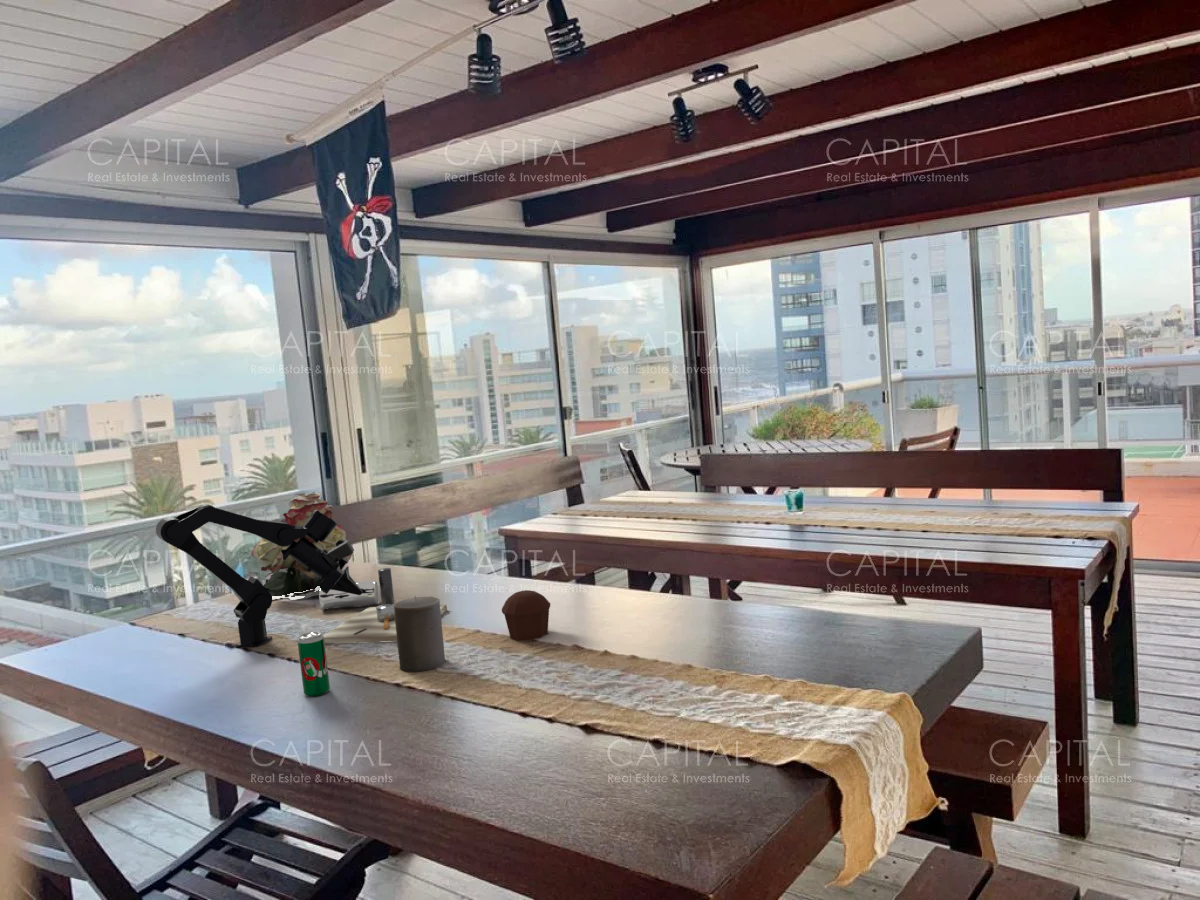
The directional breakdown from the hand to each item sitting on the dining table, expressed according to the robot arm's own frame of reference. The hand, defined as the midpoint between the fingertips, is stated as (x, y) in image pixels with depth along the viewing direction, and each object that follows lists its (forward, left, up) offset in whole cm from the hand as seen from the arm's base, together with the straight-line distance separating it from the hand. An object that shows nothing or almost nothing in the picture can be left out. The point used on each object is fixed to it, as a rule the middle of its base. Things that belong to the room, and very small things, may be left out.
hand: (361, 593), depth 231 cm
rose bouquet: (+35, +34, -8) cm, 50 cm away
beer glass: (+13, +19, -4) cm, 23 cm away
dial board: (-5, -8, -7) cm, 12 cm away
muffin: (-15, -48, -8) cm, 51 cm away
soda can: (-50, -14, -8) cm, 52 cm away
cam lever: (-4, -8, -6) cm, 11 cm away
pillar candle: (-34, -30, -8) cm, 46 cm away
